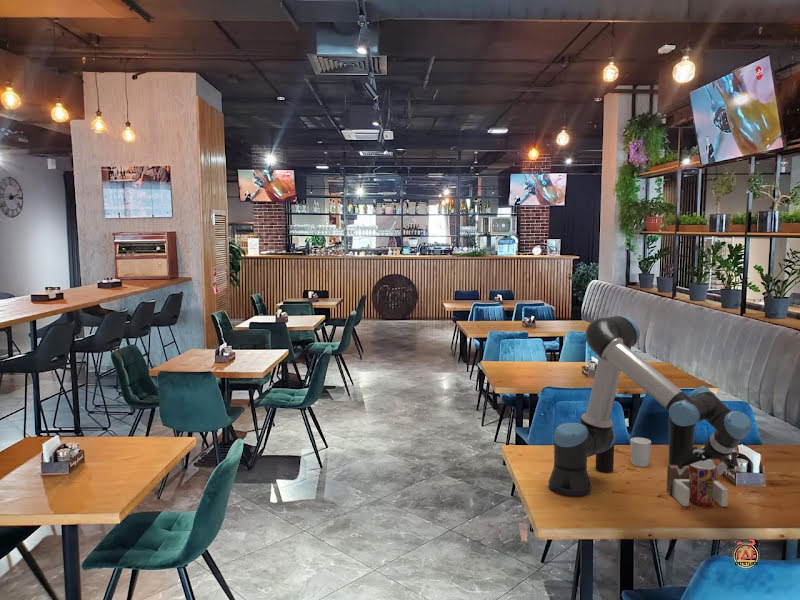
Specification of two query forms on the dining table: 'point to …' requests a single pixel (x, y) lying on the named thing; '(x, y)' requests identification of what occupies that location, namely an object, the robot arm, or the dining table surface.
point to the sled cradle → (683, 492)
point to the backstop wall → (677, 476)
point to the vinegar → (605, 460)
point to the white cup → (640, 451)
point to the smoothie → (701, 481)
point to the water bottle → (679, 440)
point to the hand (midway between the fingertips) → (698, 471)
